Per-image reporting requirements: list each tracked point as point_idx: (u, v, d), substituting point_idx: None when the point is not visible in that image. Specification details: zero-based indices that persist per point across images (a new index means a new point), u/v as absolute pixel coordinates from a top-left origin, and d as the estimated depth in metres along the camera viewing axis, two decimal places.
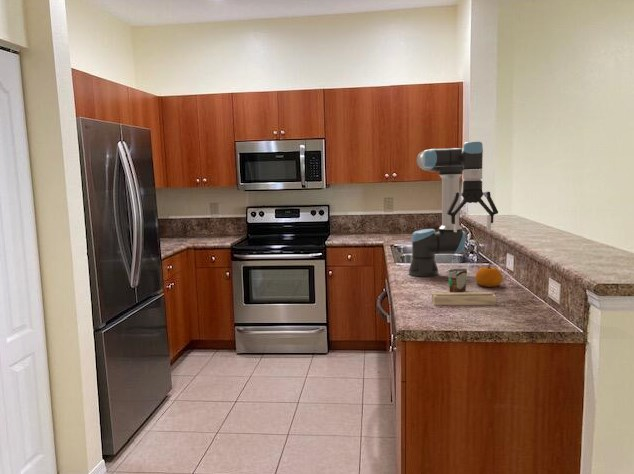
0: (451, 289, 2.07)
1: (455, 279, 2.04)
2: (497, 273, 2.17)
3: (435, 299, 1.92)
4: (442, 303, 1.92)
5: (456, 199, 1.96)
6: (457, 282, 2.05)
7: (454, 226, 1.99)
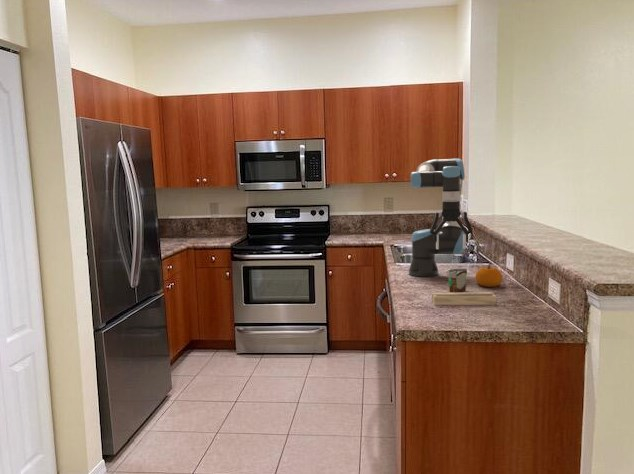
0: (451, 289, 2.07)
1: (455, 279, 2.04)
2: (497, 273, 2.17)
3: (435, 299, 1.92)
4: (442, 303, 1.92)
5: (436, 219, 2.16)
6: (457, 282, 2.05)
7: (436, 244, 2.19)
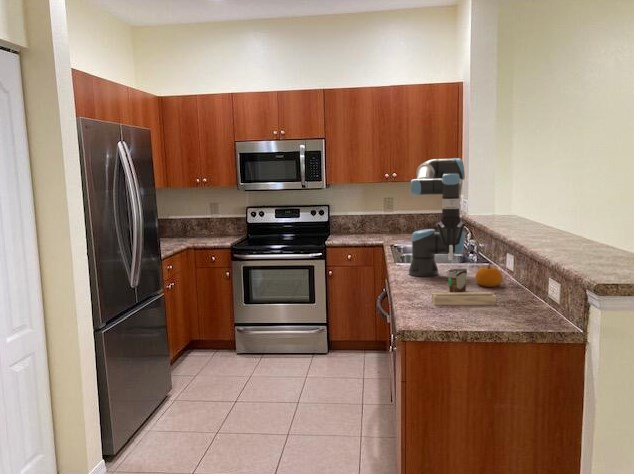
0: (451, 289, 2.07)
1: (455, 279, 2.04)
2: (497, 273, 2.17)
3: (435, 299, 1.92)
4: (442, 303, 1.92)
5: (440, 229, 2.16)
6: (457, 282, 2.05)
7: (448, 254, 2.18)
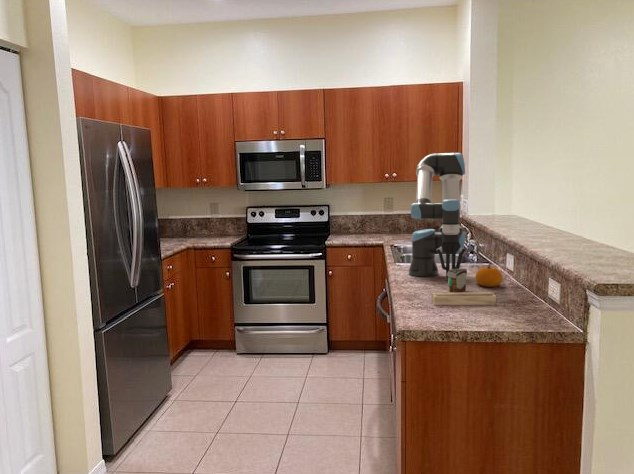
0: (451, 289, 2.07)
1: (455, 279, 2.04)
2: (497, 273, 2.17)
3: (435, 299, 1.92)
4: (442, 303, 1.92)
5: (440, 255, 2.17)
6: (457, 282, 2.05)
7: (448, 279, 2.20)
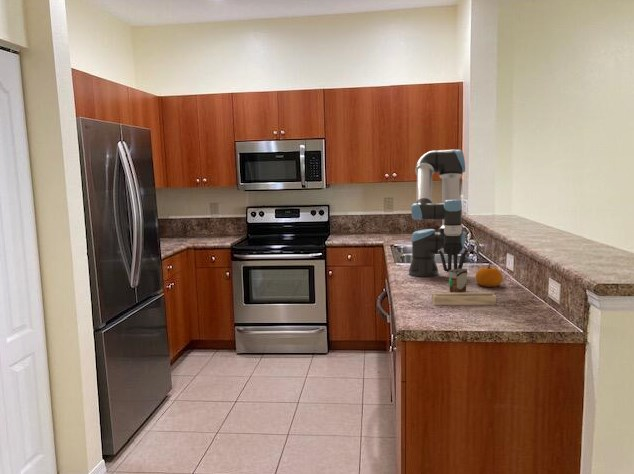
0: (451, 289, 2.07)
1: (455, 279, 2.03)
2: (497, 273, 2.17)
3: (435, 299, 1.92)
4: (442, 303, 1.92)
5: (442, 256, 2.13)
6: (457, 282, 2.04)
7: None
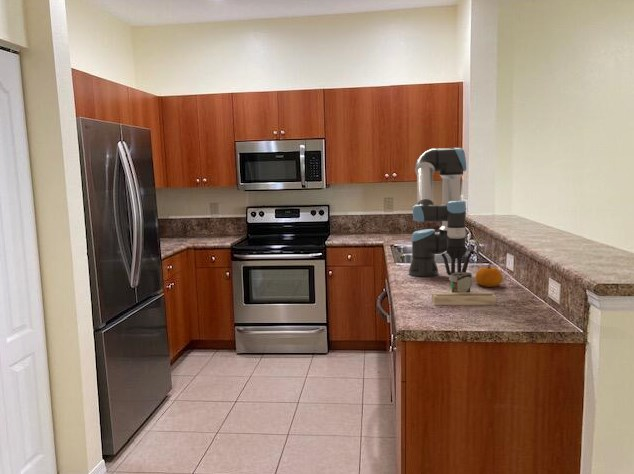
0: None
1: (456, 283, 1.97)
2: (497, 273, 2.17)
3: (435, 299, 1.92)
4: (442, 303, 1.92)
5: (445, 259, 2.06)
6: (458, 286, 1.97)
7: None
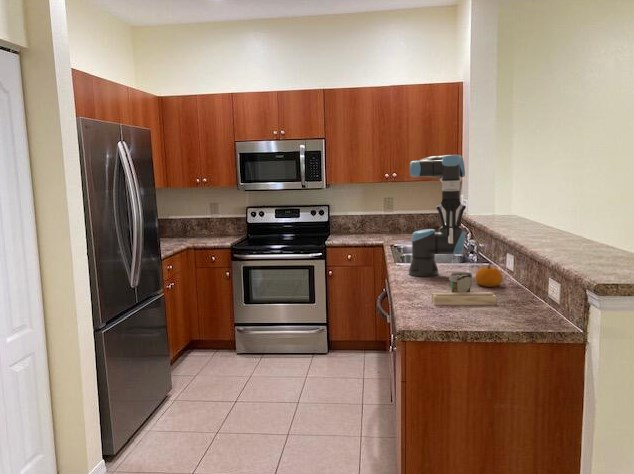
0: None
1: (456, 283, 1.97)
2: (497, 273, 2.17)
3: (435, 299, 1.92)
4: (442, 303, 1.92)
5: (440, 212, 2.12)
6: (458, 286, 1.97)
7: (448, 238, 2.15)
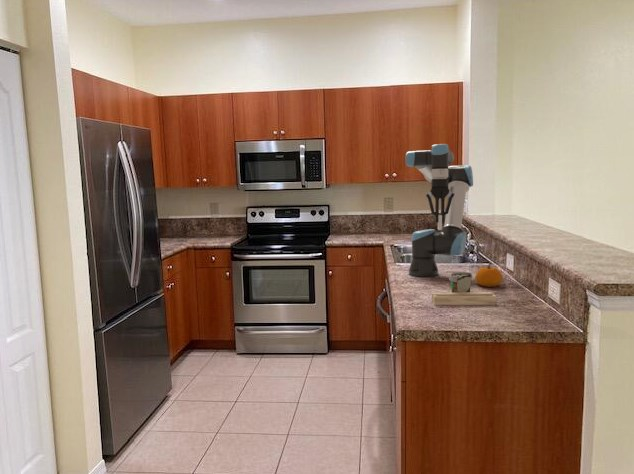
0: None
1: (456, 283, 1.97)
2: (497, 273, 2.17)
3: (435, 299, 1.92)
4: (442, 303, 1.92)
5: (430, 199, 2.20)
6: (458, 286, 1.97)
7: (438, 224, 2.22)
